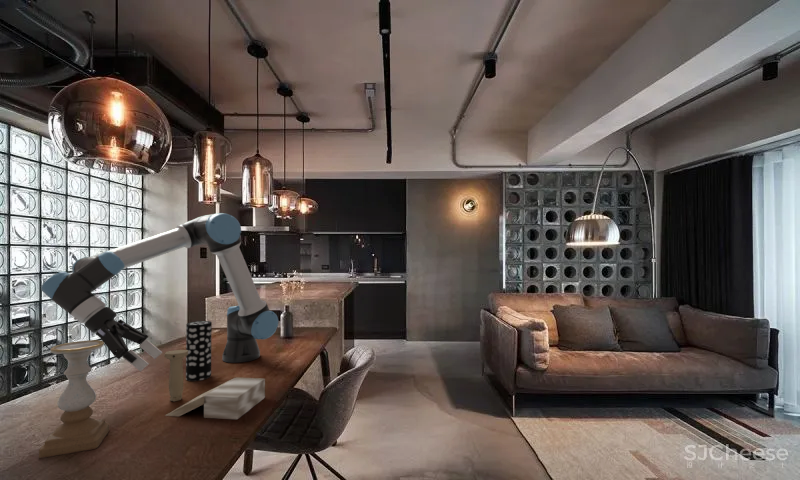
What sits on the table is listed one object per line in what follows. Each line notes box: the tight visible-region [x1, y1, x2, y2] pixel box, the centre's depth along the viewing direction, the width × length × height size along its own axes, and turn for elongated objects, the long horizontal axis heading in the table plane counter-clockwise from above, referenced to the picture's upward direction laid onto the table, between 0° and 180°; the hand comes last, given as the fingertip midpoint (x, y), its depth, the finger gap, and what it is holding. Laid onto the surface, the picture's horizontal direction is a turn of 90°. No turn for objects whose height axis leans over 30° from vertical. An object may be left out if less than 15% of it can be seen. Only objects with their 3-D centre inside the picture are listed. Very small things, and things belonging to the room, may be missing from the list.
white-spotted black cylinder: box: [185, 320, 213, 382], centre depth 144 cm, size 8×8×20 cm
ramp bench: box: [164, 377, 266, 420], centre depth 117 cm, size 16×22×8 cm
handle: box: [164, 349, 188, 402], centre depth 122 cm, size 5×6×15 cm
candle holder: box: [38, 339, 110, 459], centre depth 95 cm, size 11×11×24 cm
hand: (152, 361), depth 119 cm, fingers open, 13 cm apart
